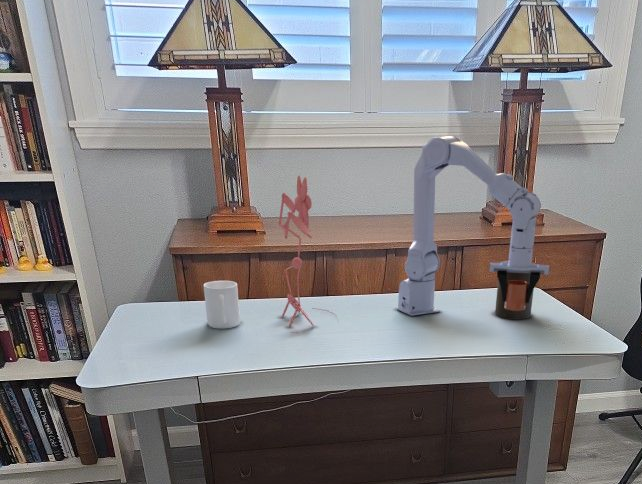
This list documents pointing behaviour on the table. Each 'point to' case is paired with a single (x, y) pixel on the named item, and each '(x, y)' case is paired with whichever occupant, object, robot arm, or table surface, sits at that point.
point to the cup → (222, 304)
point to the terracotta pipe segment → (516, 295)
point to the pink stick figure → (302, 223)
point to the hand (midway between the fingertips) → (515, 301)
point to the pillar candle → (500, 308)
